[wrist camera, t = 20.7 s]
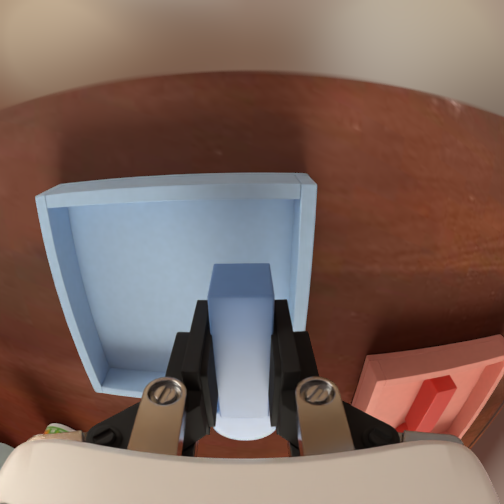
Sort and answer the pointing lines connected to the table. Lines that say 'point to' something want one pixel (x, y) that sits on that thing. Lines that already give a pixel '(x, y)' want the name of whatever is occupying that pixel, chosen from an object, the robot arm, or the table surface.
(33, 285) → the table surface
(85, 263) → the blue tray
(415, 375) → the red tray
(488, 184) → the table surface
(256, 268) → the blue spoon
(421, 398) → the red spoon
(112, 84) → the table surface
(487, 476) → the robot arm
